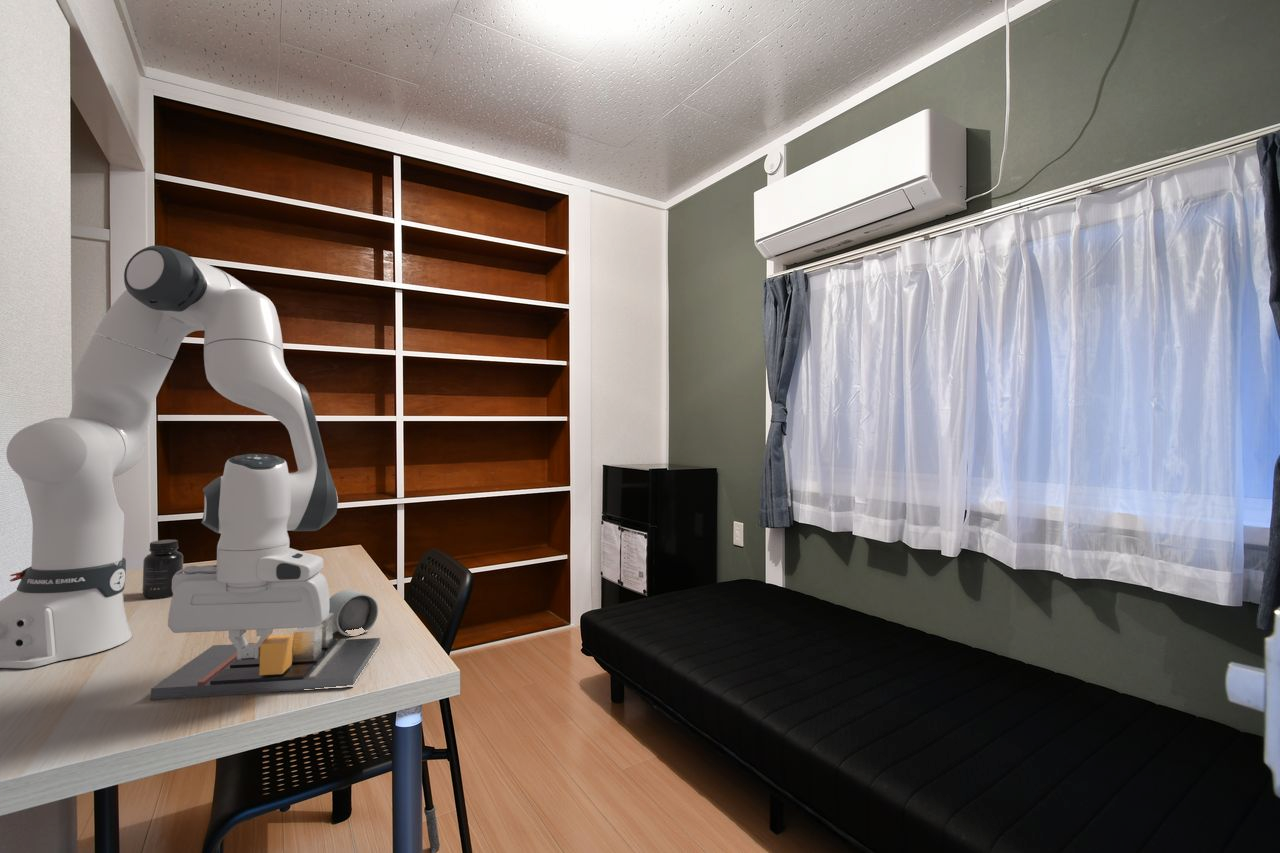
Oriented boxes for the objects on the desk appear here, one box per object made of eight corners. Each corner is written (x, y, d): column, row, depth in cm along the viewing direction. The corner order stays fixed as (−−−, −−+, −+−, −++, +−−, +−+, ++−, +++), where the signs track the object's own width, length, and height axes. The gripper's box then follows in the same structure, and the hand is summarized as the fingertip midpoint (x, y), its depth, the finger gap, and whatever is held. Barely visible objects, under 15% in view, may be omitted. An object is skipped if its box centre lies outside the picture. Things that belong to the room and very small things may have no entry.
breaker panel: (150, 700, 77) (152, 653, 78) (212, 654, 93) (214, 615, 93) (353, 687, 83) (354, 643, 83) (379, 646, 99) (381, 610, 99)
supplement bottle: (152, 591, 127) (154, 538, 127) (188, 590, 129) (190, 538, 129) (135, 600, 120) (137, 544, 120) (173, 598, 122) (175, 543, 122)
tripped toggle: (259, 675, 81) (260, 644, 81) (269, 665, 84) (271, 635, 84) (282, 674, 82) (283, 643, 82) (291, 664, 85) (292, 634, 85)
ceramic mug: (360, 620, 112) (360, 582, 112) (378, 630, 106) (379, 590, 106) (301, 635, 104) (302, 593, 104) (318, 646, 98) (319, 603, 98)
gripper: (159, 571, 77) (155, 671, 77) (320, 567, 81) (317, 662, 81) (186, 561, 83) (182, 653, 83) (334, 558, 88) (331, 646, 87)
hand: (250, 658), depth 82 cm, fingers closed
